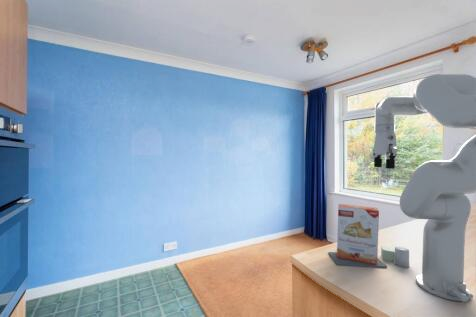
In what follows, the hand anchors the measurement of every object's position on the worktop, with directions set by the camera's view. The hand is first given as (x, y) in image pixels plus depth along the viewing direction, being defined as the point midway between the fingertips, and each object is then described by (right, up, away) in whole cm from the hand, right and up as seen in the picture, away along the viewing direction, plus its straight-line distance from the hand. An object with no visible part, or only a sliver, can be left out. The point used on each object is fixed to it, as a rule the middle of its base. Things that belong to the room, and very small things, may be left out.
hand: (383, 167), depth 98 cm
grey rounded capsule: (-3, -37, -14) cm, 39 cm away
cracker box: (-18, -36, -11) cm, 42 cm away
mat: (-18, -36, -11) cm, 42 cm away
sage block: (-5, -37, -9) cm, 38 cm away
